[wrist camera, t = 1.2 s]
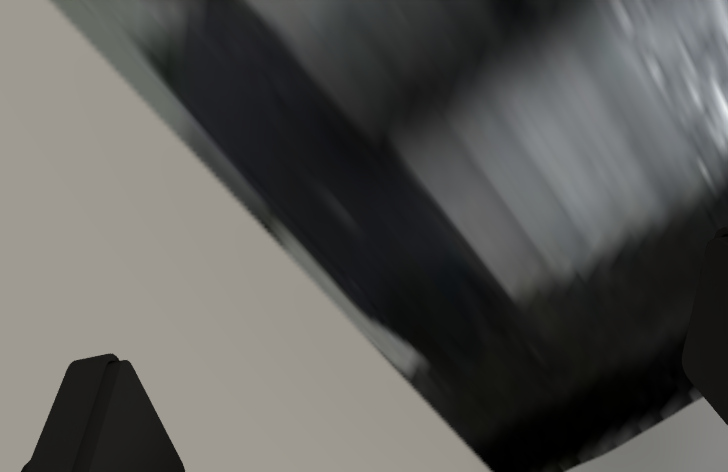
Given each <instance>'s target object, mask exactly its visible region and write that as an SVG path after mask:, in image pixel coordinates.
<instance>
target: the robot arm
mask: <svg viewBox="0 0 728 472" xmlns="http://www.w3.org/2000/svg"><path fill="white" fill-rule="evenodd" d="M682 365H683V368H684V371H685V373H686V375H687V377H688V378H689V380H690V381H691V382H692V383H693V384H694V386H695V387H696V388H697V389H698V390H699V392H700V393H701V394H702V395H703V396H704V398H705V399H706V400H707V401H708V402H709V404H710V405H711V406H712V407H713V408H714V410H715V411H716V412H717V413H718V414H719V416H720V417H721V418H722V419H723V420H724V422H725V423H726V424H727V425H728V227H725V228H722V229H720V230H719V231H718V232H717V233H716V235H715V238H714V239H712V240H710V242H709V243H708V245H707V247H706V252H705V256H704V261H703V265H702V270H701V274H700V279H699V283H698V287H697V292H696V296H695V301H694V305H693V310H692V314H691V319H690V323H689V328H688V332H687V337H686V341H685V346H684V350H683V355H682ZM21 472H185V469H184V466H183V463H182V461H181V460H180V457H179V455H178V453H177V452H176V450H175V448H174V446H173V444H172V442H171V440H170V438H169V436H168V434H167V432H166V430H165V428H164V427H163V424H162V422H161V421H160V419H159V417H158V415H157V413H156V411H155V409H154V407H153V405H152V403H151V401H150V399H149V397H148V395H147V394H146V392H145V389H144V388H143V386H142V384H141V382H140V380H139V378H138V376H137V374H136V372H135V370H134V368H133V366H132V365H131V363H130V362H129V361H127V360H123V361H119V359H118V358H117V356H115V355H114V354H105V355H100V356H95V357H91V358H86V359H81V360H76V361H73V362H72V363H71V364H70V365H69V367H68V369H67V371H66V373H65V376H64V378H63V381H62V384H61V386H60V388H59V391H58V393H57V396H56V398H55V401H54V403H53V406H52V409H51V411H50V414H49V416H48V418H47V421H46V423H45V426H44V428H43V431H42V433H41V435H40V438H39V440H38V443H37V445H36V448H35V451H34V453H33V456H32V458H31V460H30V461H29V462H28V463H27V464H26V465H25V466H24V467H23V469H22V471H21Z"/></svg>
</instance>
